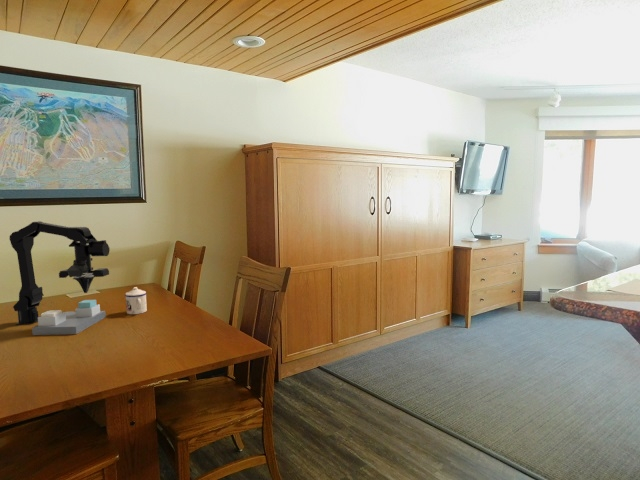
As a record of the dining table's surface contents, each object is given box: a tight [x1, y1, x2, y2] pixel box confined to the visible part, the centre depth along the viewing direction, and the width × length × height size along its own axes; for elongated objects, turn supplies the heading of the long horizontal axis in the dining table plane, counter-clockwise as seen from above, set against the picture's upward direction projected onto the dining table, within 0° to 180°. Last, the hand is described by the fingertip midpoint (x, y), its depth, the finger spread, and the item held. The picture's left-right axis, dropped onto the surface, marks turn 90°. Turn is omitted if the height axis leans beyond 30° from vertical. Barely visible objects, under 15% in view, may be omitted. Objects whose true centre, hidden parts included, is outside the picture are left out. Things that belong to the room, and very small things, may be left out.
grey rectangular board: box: [31, 303, 107, 336], centre depth 175 cm, size 17×23×6 cm
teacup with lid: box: [124, 286, 148, 315], centre depth 192 cm, size 12×9×12 cm
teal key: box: [77, 299, 97, 308], centre depth 180 cm, size 5×5×3 cm
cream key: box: [40, 309, 63, 317], centre depth 168 cm, size 5×5×3 cm
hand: (85, 292), depth 179 cm, fingers closed
